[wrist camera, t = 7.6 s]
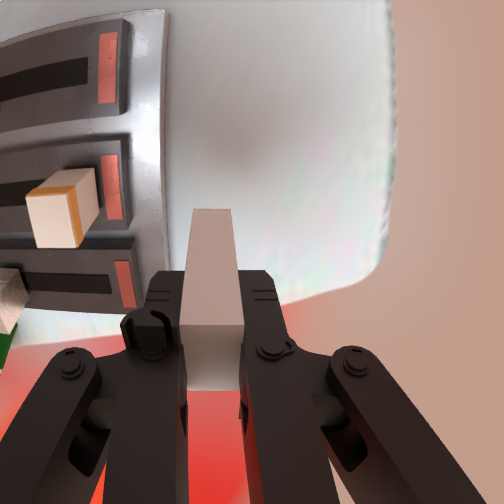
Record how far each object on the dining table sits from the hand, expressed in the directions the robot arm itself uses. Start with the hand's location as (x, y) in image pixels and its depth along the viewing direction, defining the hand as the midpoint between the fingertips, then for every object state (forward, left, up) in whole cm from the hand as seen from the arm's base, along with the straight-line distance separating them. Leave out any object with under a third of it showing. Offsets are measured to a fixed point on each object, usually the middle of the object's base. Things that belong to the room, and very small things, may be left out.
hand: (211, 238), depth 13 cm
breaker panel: (0, -12, -9) cm, 15 cm away
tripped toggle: (0, -8, -5) cm, 9 cm away
